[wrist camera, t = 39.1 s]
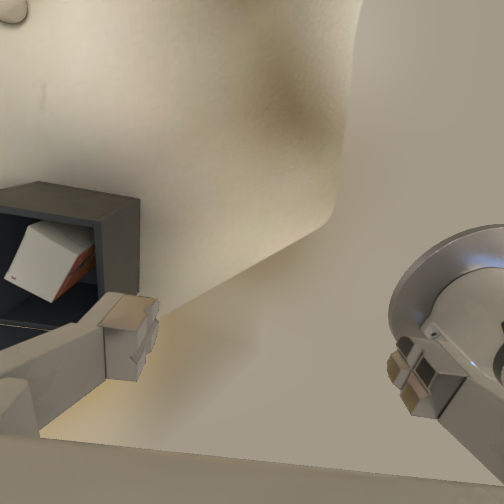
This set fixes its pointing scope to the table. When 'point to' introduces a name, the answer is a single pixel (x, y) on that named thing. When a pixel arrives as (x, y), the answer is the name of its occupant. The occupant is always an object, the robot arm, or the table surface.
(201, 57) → the table surface
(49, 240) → the small box
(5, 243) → the open box
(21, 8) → the rainbow fanned disc toy
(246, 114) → the table surface
